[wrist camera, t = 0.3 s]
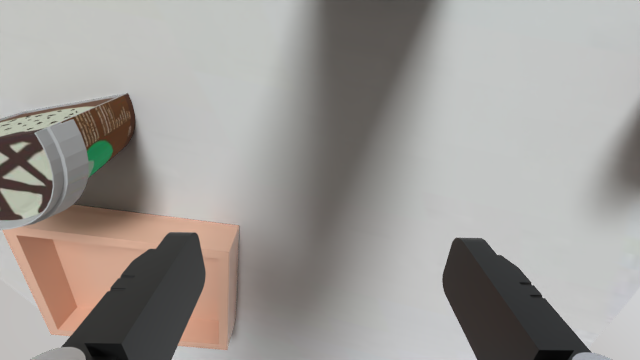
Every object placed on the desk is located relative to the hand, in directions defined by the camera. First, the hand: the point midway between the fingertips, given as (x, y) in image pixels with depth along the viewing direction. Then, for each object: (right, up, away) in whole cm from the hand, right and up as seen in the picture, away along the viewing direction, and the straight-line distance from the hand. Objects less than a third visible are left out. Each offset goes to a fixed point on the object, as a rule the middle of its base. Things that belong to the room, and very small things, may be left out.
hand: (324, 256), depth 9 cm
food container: (-20, +6, +17) cm, 27 cm away
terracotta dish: (-20, -8, +24) cm, 33 cm away
